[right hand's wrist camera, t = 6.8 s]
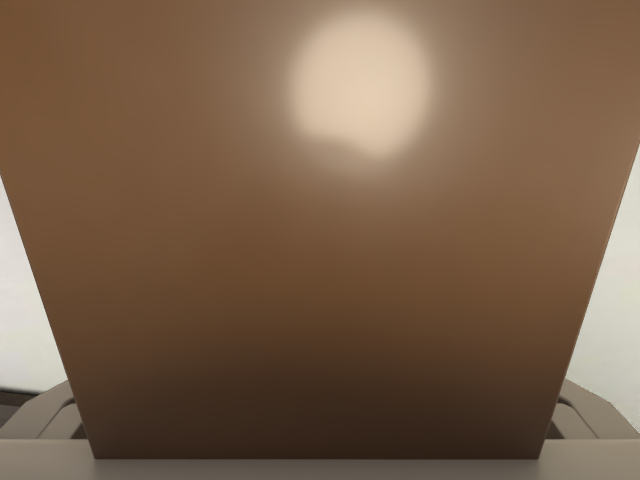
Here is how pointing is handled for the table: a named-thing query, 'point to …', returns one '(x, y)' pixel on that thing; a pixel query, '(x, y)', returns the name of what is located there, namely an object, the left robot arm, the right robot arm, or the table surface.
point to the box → (317, 215)
